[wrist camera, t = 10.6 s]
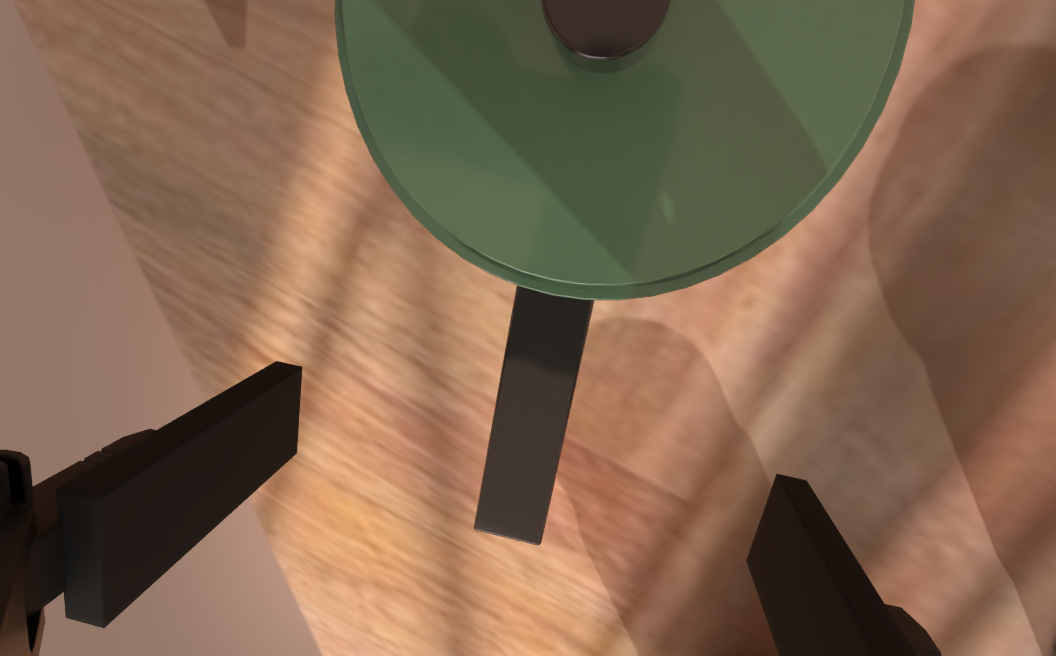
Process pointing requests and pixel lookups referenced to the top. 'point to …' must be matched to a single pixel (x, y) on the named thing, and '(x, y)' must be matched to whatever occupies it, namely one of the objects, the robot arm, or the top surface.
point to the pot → (606, 161)
